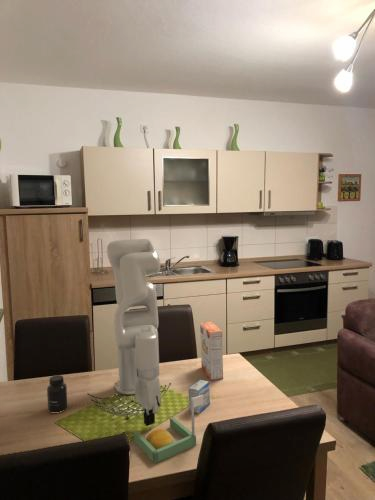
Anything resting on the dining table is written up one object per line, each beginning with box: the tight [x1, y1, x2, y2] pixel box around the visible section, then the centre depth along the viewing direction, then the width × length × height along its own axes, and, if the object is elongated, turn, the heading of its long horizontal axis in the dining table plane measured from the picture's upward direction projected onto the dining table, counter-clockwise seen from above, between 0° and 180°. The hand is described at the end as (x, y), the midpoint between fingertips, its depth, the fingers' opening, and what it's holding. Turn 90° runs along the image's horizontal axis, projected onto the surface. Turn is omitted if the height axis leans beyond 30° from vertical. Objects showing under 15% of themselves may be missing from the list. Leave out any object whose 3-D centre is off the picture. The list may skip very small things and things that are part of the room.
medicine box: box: [187, 379, 211, 414], centre depth 139 cm, size 8×4×9 cm, turn 148°
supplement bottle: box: [46, 374, 69, 413], centre depth 140 cm, size 7×7×12 cm
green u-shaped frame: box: [133, 395, 203, 464], centre depth 119 cm, size 13×18×15 cm
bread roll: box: [145, 428, 175, 450], centre depth 118 cm, size 8×9×4 cm
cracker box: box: [199, 321, 224, 381], centre depth 167 cm, size 14×6×21 cm, turn 14°
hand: (149, 423), depth 127 cm, fingers closed
